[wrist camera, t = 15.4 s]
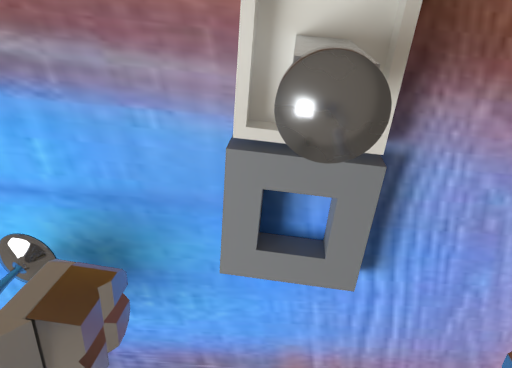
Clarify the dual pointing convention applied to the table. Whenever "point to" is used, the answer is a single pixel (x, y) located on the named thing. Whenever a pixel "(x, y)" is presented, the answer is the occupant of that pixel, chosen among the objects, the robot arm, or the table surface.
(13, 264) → the wine glass
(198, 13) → the table surface
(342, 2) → the tray
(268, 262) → the holder block
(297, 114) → the pin
